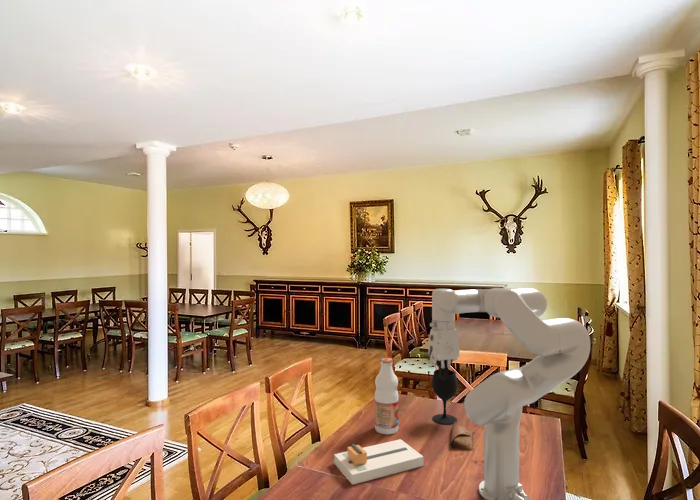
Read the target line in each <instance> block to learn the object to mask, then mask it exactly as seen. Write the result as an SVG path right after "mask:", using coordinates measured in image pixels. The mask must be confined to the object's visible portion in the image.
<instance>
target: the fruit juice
mask: <svg viewBox="0 0 700 500" xmlns="http://www.w3.org/2000/svg"><path fill="white" fill-rule="evenodd" d="M379 361H380V368H379V369H380V370H379V372H378V374H377V375H376V376H375V378H374V379H375V380H374V383H375V387H376V389H375V392H374V430H375V432H376V433H379V434H382V435H393V434H395V433H398V431H399V427H400V426H399V425H400V424H399V423H400V422H399V421H400V420H399V417H400V416H399V410H400V409H399V408H400V407H399V403H400V402H399V399H400V398H399V391H398V386H399V378H398V377H397V375H396V374H395V371H394V370H393V369H394V368H393V363H394V360H393V358H391V357H382V358H380V360H379Z"/></svg>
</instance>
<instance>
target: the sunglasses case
mask: <svg viewBox="0 0 700 500" xmlns="http://www.w3.org/2000/svg"><path fill="white" fill-rule="evenodd" d="M474 433H475V432H474V429H471V428H469V427H467V426H465V425H463V424H461V423H460V422H459V421H458V420H457V421H455V422H454V423H453V424H452V426H451V433H450V447H451V449H453V450H463V451H472V452H474V449H475V448H474Z"/></svg>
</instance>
